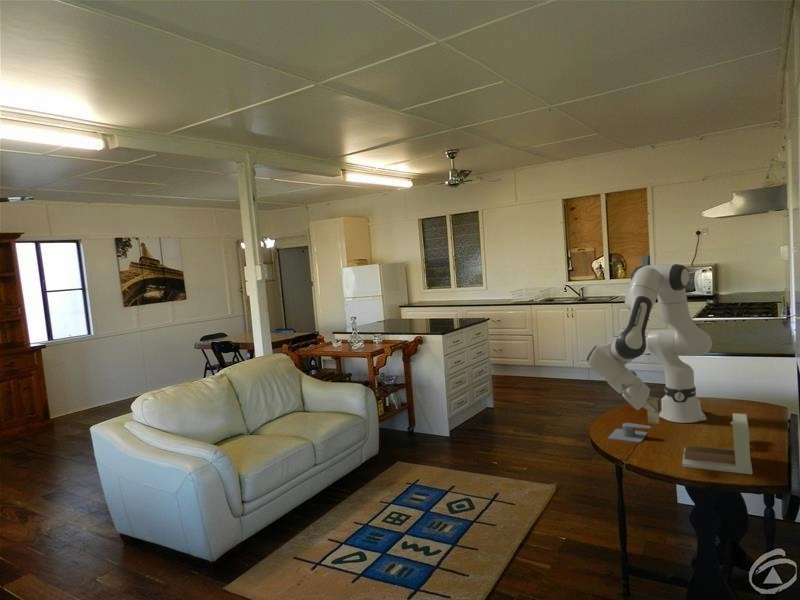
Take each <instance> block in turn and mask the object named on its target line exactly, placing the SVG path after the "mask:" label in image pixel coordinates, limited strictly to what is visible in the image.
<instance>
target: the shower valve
mask: <svg viewBox="0 0 800 600" xmlns="http://www.w3.org/2000/svg"><path fill="white" fill-rule="evenodd" d="M621 425H622V428H615V429H614V431H613V432H612V433H610V435H608V440H613V441H619V440H620V441H621V442H626V443H627V442H629V443H634V442H635V444H641V443H643V441H644V440H645V438H646V437H647V436H648V432H646V431H642V430H641V429H644V430H650V429H652V426H650V425H646V424H645V425H644V424H640V423H639V424H638V423H633V422H632V423H631V422H624V423H622V424H621ZM635 429H639V430H635ZM640 430H641V431H640ZM645 436H646V437H645Z"/></svg>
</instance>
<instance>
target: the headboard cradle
mask: <svg viewBox="0 0 800 600" xmlns="http://www.w3.org/2000/svg"><path fill="white" fill-rule="evenodd" d="M732 421H733V427H732V428H733V430H732V431H733V449H731V448H720V447H710V446H702V445H691V444H690V445H688V444H685V445H684V449H683V455H682V466H681V467H682V468H691V469H700V470H708V471H717V472H727V473H733V474H734V473H735V474H743V475H744V474H745V475H752V474H753V467H752V461H751V452H750V450H751V448H750V447H751V446H750V432H749V431H750V430H749V422H748V417H747V413H732ZM749 446H750V447H749Z"/></svg>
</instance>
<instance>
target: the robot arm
mask: <svg viewBox="0 0 800 600" xmlns="http://www.w3.org/2000/svg"><path fill="white" fill-rule="evenodd" d="M630 275H631V276H630V282H629V285H628V287H627V290H626V292H625V297H624V305H625V307H626V308H627V310H628V311H630V315H629V317H628V322H627V325H626V328H625V329H624V330H623V331H622V332H621V333H620V334H619V335H618V336H617V337H616V338H615V339H614V340H613V341H609V342H608V343H604V344H599V345H598V344H597V345H595V346H594V347H593V348H592V349H591V350H590V352H589V353H588V355H587V357H586V362H587V364H588V366H590V368H591V369H592V370H593V371H594V372H595V373H596V374H597V375H598V376H599V377H600V378H603V379H604V380H606V382H607V384H608V385H609V386H611V388H612V389H613V390H615V391H616V392H617V393H618V394H622V397H623V398H624V399H625V400H626V402H628V403H629V405H630V406H631V407H632V408H634V409H635V410H636V411H640V410H641V408H643V409H645V410H646V411H647V410H649V411H650V412H651V413H654V412H655V411H656V409H655V408H654V407H653V406H651V405H650V404H648V402H647V398H648V397H649V398H652V397H651V396H650V392H651V389H650V388H649V386H648V385H647V384H646V383H645V382H644V381H643V380H642V379H641V378H640V377H638V376H637V375H638V374H637V373H636V372H635V371H634V370H630V369H628V367H626V365H628V364H630V363H631V362H632V361H633V360H635V359H636V358H639V357H641V356H642V355H643V354H644V353H645V351H646V349H647V350H648V351H649V352H650V353H652V354H653V355H654V356H656V358H657V359H658V360H659V362H660V364H661V365H662V368H663V372H664V379H665V380H664V381H665V385H664V396H663V397H662V398H661V410H660V411H659V417H660V418H661V419H664V420H666V421H669V422H673V423H683V424H687V423H688V424H689V423H697V422H702V421H707V419H708V418H707V417H706V415H705V413H704V412H703V411H702V407H701V400H700V399H699V398H697V396H696V395H697V389H696V386H695V374H694V370H693V368H692V366H691V365H689V364H688V363H686V362H683V361H682V359H680V356H687V357H691V356H692V357H696V356H697V357H698V356H704V355H705V356H706V355H707V354H708V353H710V350H711V349H712V346H713V343H712V342H713V341H712V338H711V336H710V334H709V333H707V332H706V331H704V330H703V329H701V328H700V327H698V325H696V323H695V322H694V320H693V319H692V317H691V314H690V310H689V303H688V296H687V292H686V287H687V286H688V285H689V282H690V271H689V269H688V268H687V267H686V266H685V265H683V264H680V263H679V264H678V263H674V264H671V263H658V264H649V265H645V264H643V265H639V266H636V267H635V268H634V269H632V272H631V274H630ZM656 301H657V304H658V305H657V306H658V313H659V317H660V319H661V320H662V322H664V323H665V324H668V325H669V326H671V327H672V328H673V329H664V328H663V329H656V330H650V331H649V332H648V334H647V335H646V330H647V325H648V321H649V318H650V315H651V311H652V310H653V308H654V306H655V304H656Z"/></svg>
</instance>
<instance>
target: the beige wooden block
mask: <svg viewBox="0 0 800 600" xmlns="http://www.w3.org/2000/svg"><path fill="white" fill-rule="evenodd" d="M649 397H650V396H649ZM649 397H648V398H647V402H648V404H650V405H651V406H653V407H654V408H655V409H656V411H655V412H654V413H651V412H650V411H649V410H647V409H646V412H647V423H648V424H655V425H656V424H657V425H658V424H660V421H661V419H660V418H661V417H659V413H660V412H661V403H660V402H661V401H660V399H659V397H651V398H649Z"/></svg>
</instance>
